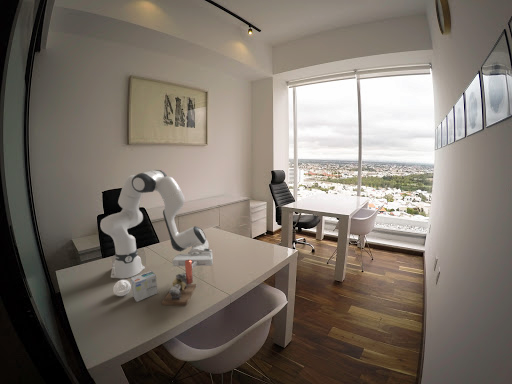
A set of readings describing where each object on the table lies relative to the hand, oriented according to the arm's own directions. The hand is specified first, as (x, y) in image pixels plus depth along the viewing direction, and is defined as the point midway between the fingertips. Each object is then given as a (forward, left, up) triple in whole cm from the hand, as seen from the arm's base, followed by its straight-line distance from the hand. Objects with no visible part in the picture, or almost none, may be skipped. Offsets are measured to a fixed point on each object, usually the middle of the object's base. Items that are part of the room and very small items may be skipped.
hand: (189, 267), depth 111 cm
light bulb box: (-21, -16, -18) cm, 32 cm away
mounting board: (-9, -2, -18) cm, 20 cm away
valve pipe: (-9, -2, -16) cm, 19 cm away
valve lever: (-4, -1, -9) cm, 10 cm away
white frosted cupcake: (-29, -25, -18) cm, 42 cm away
